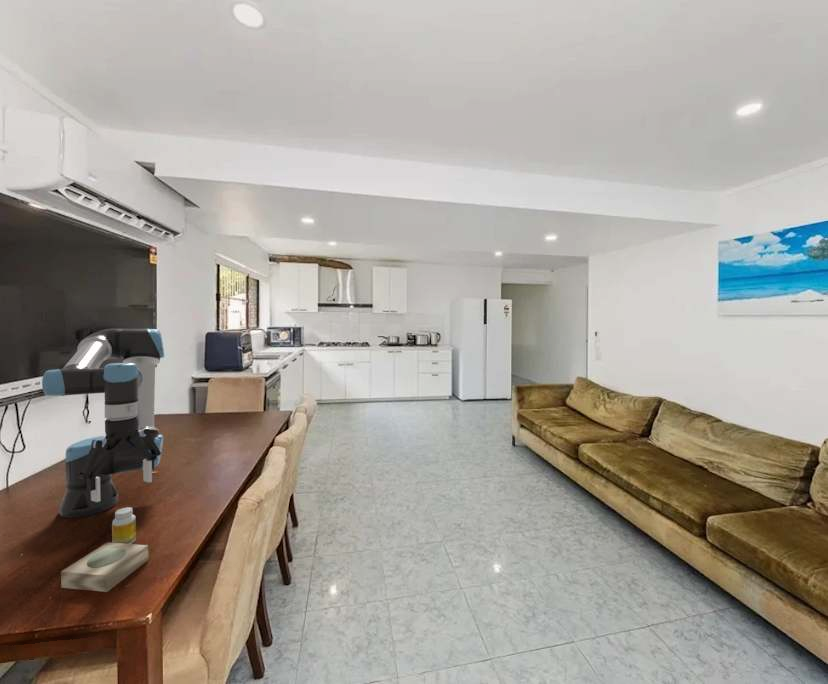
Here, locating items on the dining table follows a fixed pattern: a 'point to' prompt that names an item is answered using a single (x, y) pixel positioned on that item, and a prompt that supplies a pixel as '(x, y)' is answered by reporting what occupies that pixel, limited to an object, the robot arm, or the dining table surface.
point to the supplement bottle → (124, 526)
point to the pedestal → (104, 567)
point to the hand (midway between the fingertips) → (123, 490)
